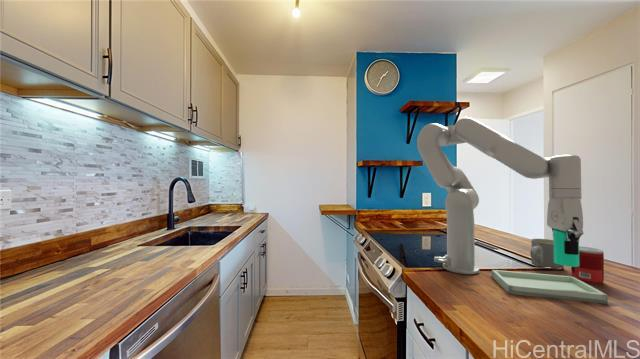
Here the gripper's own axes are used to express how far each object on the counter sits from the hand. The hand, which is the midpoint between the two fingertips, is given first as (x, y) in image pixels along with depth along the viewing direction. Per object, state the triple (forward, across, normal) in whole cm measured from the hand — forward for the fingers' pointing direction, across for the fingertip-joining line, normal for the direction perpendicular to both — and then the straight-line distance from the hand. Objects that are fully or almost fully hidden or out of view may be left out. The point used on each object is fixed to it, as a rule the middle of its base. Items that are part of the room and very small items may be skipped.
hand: (565, 251), depth 83 cm
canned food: (+13, -13, +13) cm, 22 cm away
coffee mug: (+13, -28, +7) cm, 32 cm away
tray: (+12, 0, -6) cm, 14 cm away
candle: (+4, 0, 0) cm, 4 cm away
